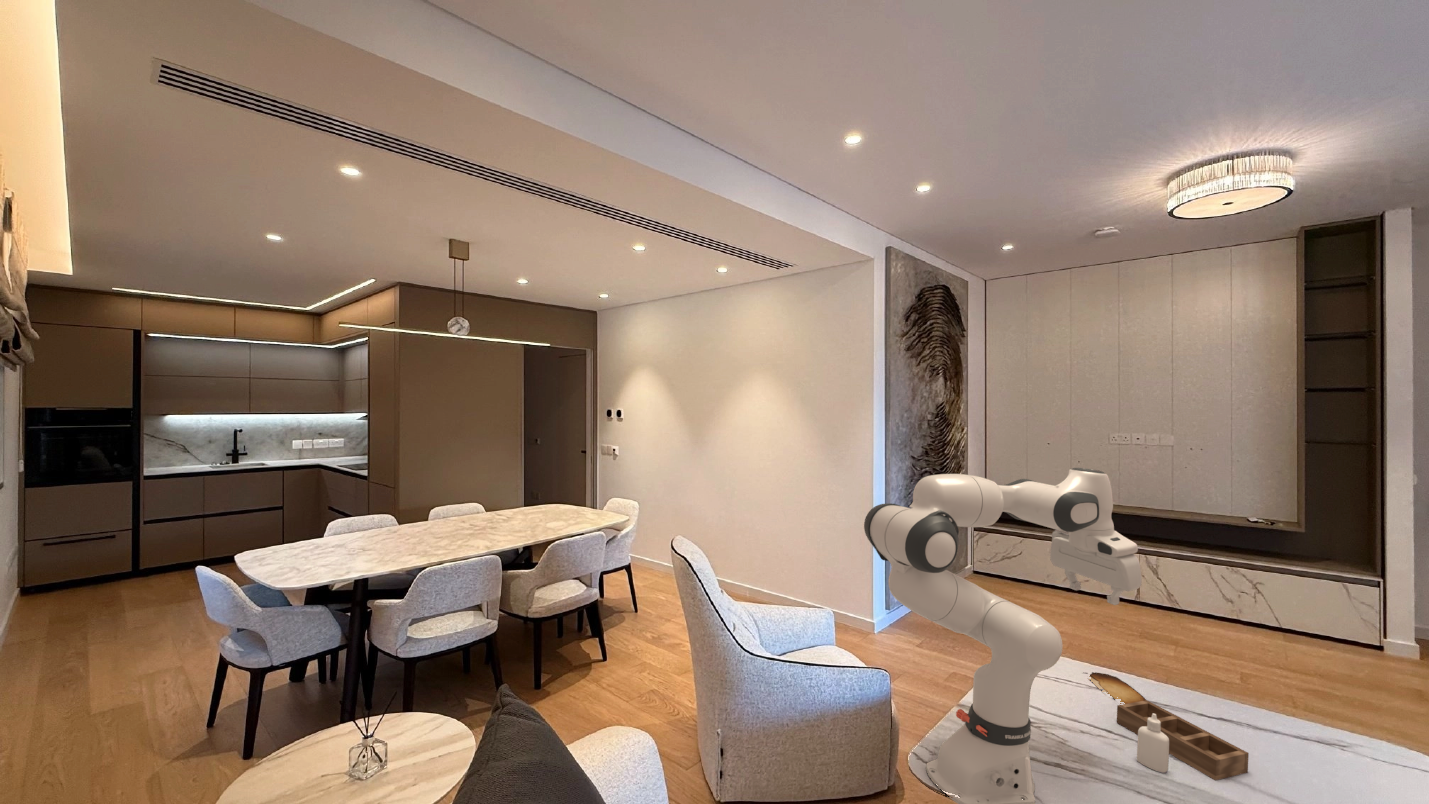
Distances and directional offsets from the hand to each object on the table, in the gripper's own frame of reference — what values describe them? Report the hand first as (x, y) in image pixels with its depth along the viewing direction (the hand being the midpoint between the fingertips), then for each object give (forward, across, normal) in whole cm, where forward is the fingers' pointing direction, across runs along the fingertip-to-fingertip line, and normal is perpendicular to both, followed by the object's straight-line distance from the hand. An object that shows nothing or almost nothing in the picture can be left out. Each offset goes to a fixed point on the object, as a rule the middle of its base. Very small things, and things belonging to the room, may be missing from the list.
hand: (1093, 596), depth 132 cm
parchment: (+43, -20, +32) cm, 57 cm away
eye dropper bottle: (+40, +6, +8) cm, 41 cm away
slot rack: (+41, +2, +22) cm, 47 cm away
